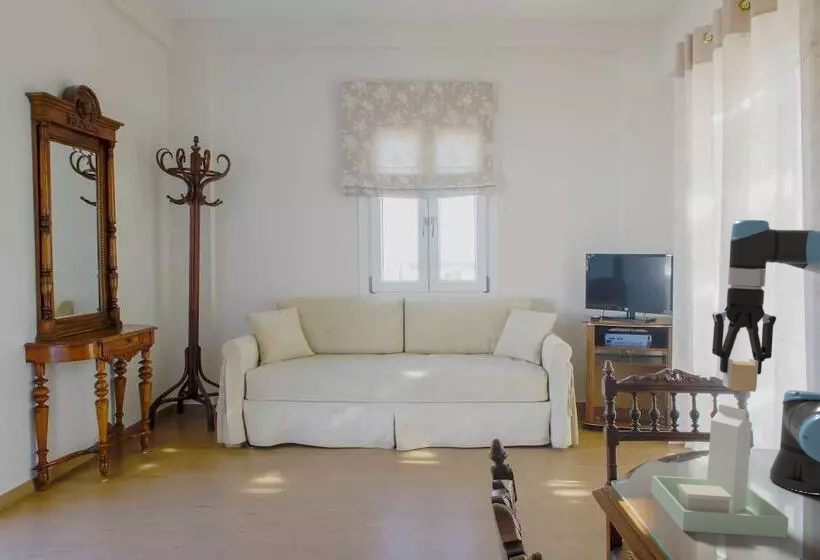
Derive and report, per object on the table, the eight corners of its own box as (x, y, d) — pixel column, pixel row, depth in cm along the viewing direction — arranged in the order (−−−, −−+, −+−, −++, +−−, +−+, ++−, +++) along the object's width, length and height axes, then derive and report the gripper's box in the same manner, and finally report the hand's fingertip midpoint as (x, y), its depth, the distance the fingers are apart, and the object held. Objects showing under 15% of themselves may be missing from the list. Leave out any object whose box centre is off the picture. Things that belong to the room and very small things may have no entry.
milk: (732, 515, 136) (739, 412, 134) (704, 504, 141) (711, 405, 139) (746, 508, 139) (753, 408, 138) (719, 499, 144) (725, 402, 143)
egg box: (718, 518, 134) (720, 486, 133) (729, 530, 128) (732, 496, 128) (675, 515, 134) (677, 483, 134) (685, 527, 128) (687, 494, 128)
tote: (740, 500, 146) (742, 480, 145) (786, 540, 126) (788, 518, 125) (650, 494, 147) (652, 475, 147) (682, 533, 127) (683, 511, 127)
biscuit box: (745, 386, 152) (746, 361, 151) (755, 391, 147) (757, 365, 146) (723, 385, 152) (725, 360, 152) (733, 390, 147) (734, 364, 147)
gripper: (778, 288, 151) (771, 385, 152) (699, 284, 152) (693, 381, 153) (795, 290, 144) (787, 392, 145) (712, 286, 145) (705, 388, 146)
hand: (739, 387), depth 149 cm, fingers closed on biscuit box, 5 cm apart
